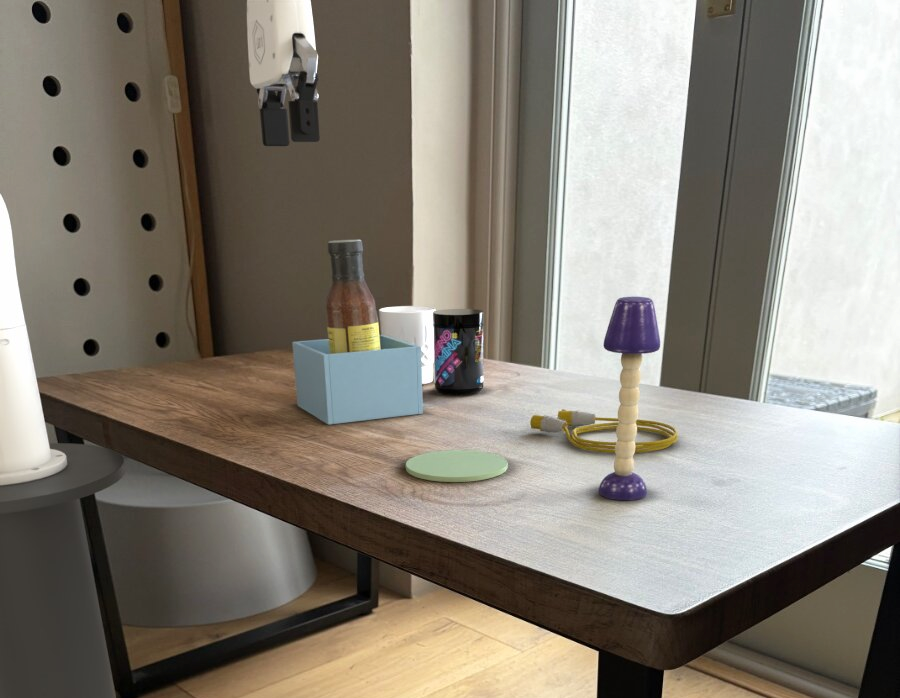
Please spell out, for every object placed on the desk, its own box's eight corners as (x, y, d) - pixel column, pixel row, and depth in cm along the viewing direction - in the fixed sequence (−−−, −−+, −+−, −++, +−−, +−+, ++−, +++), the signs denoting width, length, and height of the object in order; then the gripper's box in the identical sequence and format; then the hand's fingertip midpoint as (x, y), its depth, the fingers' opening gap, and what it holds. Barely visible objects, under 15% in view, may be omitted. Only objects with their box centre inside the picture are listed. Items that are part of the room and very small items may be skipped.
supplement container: (434, 387, 129) (432, 309, 125) (483, 386, 129) (483, 308, 125) (433, 396, 123) (431, 315, 119) (484, 396, 123) (484, 314, 119)
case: (328, 424, 109) (323, 355, 106) (297, 405, 119) (292, 341, 116) (423, 413, 114) (421, 346, 110) (385, 396, 124) (382, 334, 121)
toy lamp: (659, 498, 81) (675, 299, 74) (612, 505, 79) (624, 302, 73) (631, 484, 85) (643, 293, 78) (585, 490, 84) (594, 296, 77)
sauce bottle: (390, 405, 118) (383, 238, 110) (377, 415, 113) (368, 241, 105) (341, 403, 120) (330, 238, 112) (325, 414, 114) (313, 241, 106)
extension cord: (608, 416, 110) (609, 400, 110) (701, 444, 98) (703, 425, 97) (522, 429, 105) (522, 412, 104) (609, 461, 92) (610, 441, 92)
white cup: (429, 375, 137) (427, 304, 133) (443, 384, 130) (441, 310, 126) (376, 378, 136) (373, 307, 131) (388, 388, 129) (385, 313, 125)
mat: (431, 487, 85) (431, 482, 85) (390, 462, 93) (389, 457, 93) (526, 473, 89) (526, 468, 89) (478, 450, 97) (478, 445, 97)
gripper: (220, -19, 107) (236, 147, 113) (270, -52, 93) (285, 139, 100) (282, -13, 110) (294, 147, 117) (339, -44, 96) (349, 140, 103)
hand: (290, 143), depth 108 cm, fingers open, 9 cm apart
